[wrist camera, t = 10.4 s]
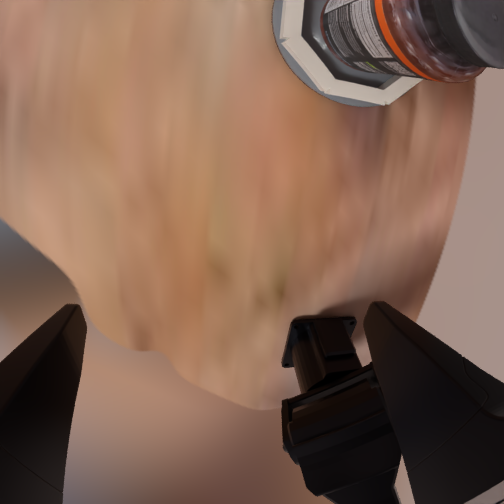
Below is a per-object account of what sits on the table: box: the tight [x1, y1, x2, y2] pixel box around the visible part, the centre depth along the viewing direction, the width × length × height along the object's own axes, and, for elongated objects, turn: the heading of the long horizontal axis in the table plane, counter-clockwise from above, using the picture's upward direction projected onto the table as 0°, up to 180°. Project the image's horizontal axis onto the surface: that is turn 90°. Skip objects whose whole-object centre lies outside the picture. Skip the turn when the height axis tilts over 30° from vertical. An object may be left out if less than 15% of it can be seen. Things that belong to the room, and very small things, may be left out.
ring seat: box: [272, 0, 423, 107], centre depth 15 cm, size 11×11×2 cm
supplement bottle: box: [320, 0, 504, 83], centre depth 10 cm, size 6×6×11 cm
